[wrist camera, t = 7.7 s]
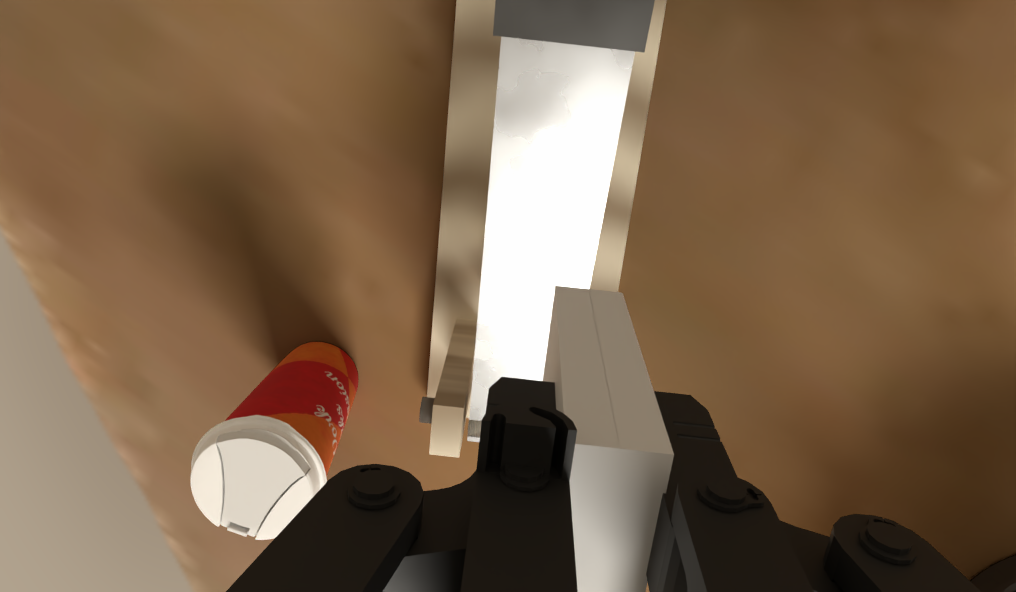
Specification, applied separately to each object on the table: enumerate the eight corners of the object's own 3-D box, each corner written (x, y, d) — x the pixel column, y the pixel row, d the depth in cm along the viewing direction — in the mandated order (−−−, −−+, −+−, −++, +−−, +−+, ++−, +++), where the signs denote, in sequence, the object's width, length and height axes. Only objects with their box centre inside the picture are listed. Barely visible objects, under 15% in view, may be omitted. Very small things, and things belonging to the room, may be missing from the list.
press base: (592, 417, 54) (610, 544, 41) (429, 399, 54) (395, 520, 41) (672, -64, 43) (732, -104, 29) (466, -87, 43) (435, -137, 29)
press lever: (562, 423, 42) (562, 458, 40) (466, 412, 42) (460, 446, 40) (666, -112, 26) (675, -101, 24) (509, -129, 26) (504, -120, 24)
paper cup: (354, 436, 55) (297, 565, 42) (256, 400, 54) (167, 520, 41) (388, 348, 52) (338, 457, 39) (285, 310, 52) (199, 407, 39)
